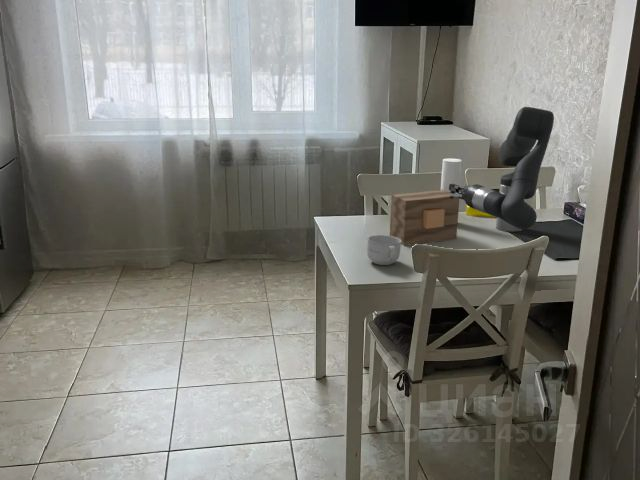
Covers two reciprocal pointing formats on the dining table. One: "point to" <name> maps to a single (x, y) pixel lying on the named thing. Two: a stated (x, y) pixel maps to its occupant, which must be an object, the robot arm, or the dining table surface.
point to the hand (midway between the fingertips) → (450, 186)
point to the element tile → (476, 212)
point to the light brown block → (433, 218)
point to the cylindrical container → (450, 173)
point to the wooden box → (410, 216)
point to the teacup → (383, 249)
